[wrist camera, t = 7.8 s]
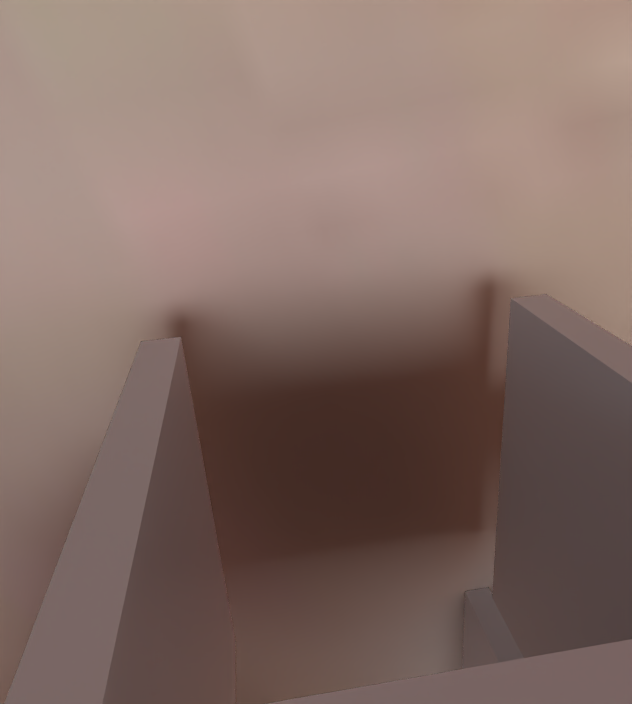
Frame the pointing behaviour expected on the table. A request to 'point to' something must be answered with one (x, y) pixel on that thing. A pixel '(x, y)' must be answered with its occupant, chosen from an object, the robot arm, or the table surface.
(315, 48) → the table surface
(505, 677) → the cover
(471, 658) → the cover
